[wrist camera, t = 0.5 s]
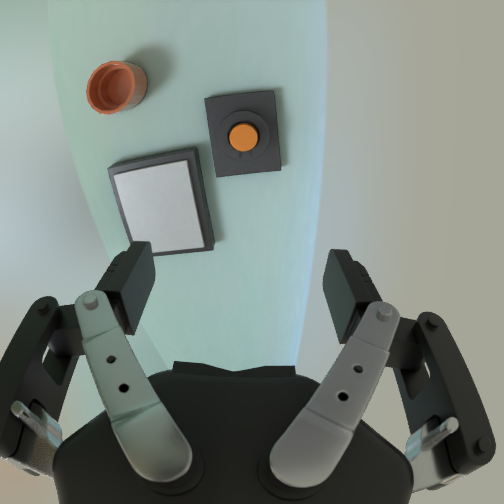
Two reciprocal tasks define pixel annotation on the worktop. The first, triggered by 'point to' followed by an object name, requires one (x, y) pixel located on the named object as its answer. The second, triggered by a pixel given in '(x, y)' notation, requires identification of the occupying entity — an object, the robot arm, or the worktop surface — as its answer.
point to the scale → (164, 202)
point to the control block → (251, 112)
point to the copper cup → (116, 87)
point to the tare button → (243, 137)
